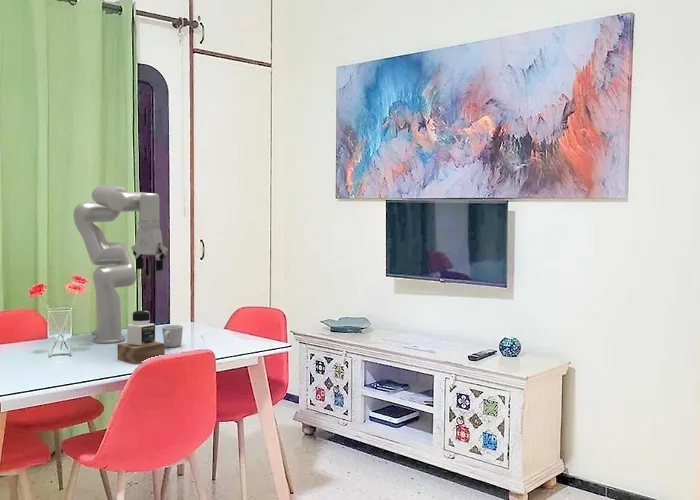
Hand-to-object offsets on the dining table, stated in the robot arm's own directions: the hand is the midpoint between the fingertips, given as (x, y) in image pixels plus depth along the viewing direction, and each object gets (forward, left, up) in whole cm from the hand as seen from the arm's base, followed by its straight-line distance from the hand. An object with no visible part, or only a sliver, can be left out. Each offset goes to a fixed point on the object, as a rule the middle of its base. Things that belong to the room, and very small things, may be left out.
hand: (149, 269), depth 270 cm
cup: (+3, +9, -32) cm, 33 cm away
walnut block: (+7, -13, -32) cm, 35 cm away
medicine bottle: (+7, -13, -26) cm, 30 cm away
